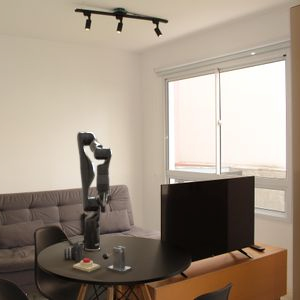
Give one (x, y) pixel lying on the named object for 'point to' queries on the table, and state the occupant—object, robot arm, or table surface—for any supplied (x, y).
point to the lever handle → (105, 256)
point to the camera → (74, 251)
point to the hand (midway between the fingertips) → (103, 212)
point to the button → (86, 260)
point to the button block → (86, 266)
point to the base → (119, 260)
